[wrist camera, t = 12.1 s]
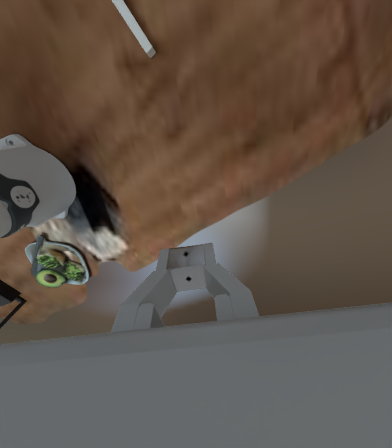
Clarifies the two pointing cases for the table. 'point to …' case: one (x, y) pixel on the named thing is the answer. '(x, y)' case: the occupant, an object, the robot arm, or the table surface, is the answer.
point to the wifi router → (9, 299)
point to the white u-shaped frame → (134, 27)
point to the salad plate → (55, 264)
